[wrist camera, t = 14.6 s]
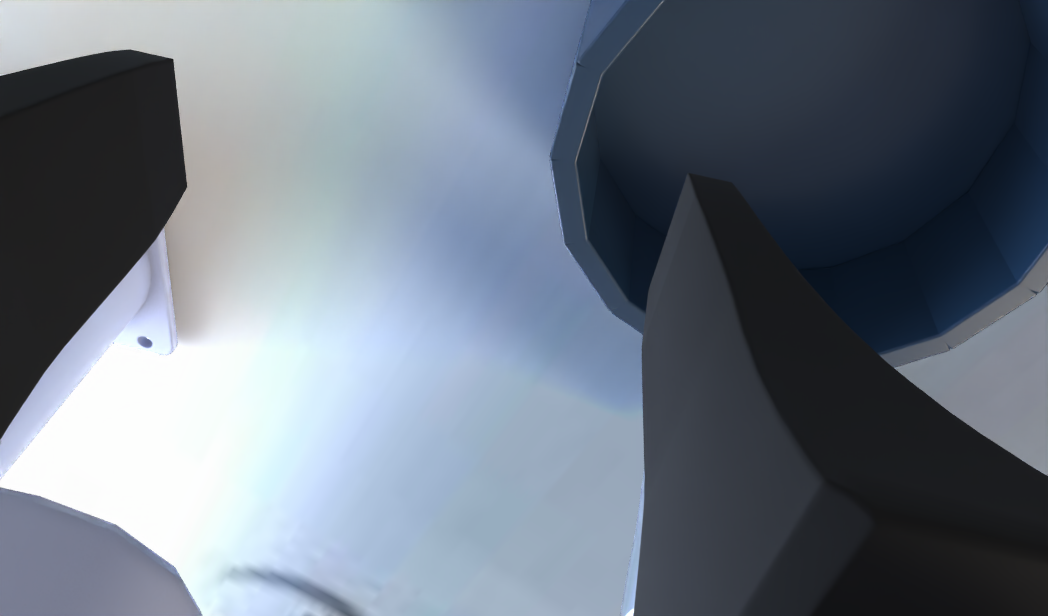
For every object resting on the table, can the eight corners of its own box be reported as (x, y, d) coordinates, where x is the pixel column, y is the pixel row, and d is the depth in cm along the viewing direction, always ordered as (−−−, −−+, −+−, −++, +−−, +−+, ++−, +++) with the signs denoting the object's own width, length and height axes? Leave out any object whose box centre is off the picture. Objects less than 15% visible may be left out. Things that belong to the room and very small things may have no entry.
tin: (598, 287, 25) (586, 386, 22) (542, -112, 19) (512, -60, 15) (1002, 267, 23) (1059, 375, 19) (1103, -200, 16) (1217, -162, 13)
